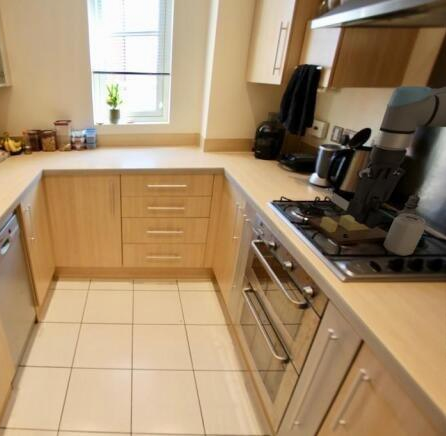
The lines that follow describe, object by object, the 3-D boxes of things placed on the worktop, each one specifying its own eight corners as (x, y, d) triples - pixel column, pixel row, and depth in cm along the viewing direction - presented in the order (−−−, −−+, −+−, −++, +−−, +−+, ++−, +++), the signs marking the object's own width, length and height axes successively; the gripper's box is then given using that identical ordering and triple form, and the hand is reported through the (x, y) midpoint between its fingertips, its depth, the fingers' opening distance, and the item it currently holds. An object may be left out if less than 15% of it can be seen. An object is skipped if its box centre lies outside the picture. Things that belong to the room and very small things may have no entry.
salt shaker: (397, 225, 115) (411, 195, 109) (390, 218, 120) (403, 189, 114) (416, 227, 113) (431, 197, 108) (409, 220, 118) (422, 190, 113)
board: (392, 240, 106) (394, 236, 106) (337, 244, 105) (338, 241, 104) (355, 218, 120) (357, 214, 120) (306, 222, 119) (307, 218, 118)
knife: (375, 228, 95) (381, 213, 92) (369, 228, 95) (376, 214, 92) (333, 200, 110) (338, 187, 107) (328, 200, 110) (333, 187, 107)
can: (413, 250, 101) (430, 217, 95) (410, 260, 96) (427, 225, 91) (384, 241, 106) (398, 209, 100) (380, 250, 101) (394, 217, 96)
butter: (369, 229, 110) (373, 220, 109) (348, 230, 109) (352, 222, 108) (358, 222, 115) (362, 213, 113) (338, 224, 114) (341, 215, 112)
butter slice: (335, 232, 109) (338, 223, 107) (329, 232, 109) (332, 223, 107) (325, 225, 113) (327, 216, 112) (319, 225, 113) (322, 216, 112)
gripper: (402, 142, 91) (374, 214, 102) (355, 145, 90) (331, 218, 101) (428, 148, 84) (394, 225, 95) (376, 152, 83) (349, 229, 94)
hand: (362, 221), depth 98 cm, fingers closed on knife, 2 cm apart
